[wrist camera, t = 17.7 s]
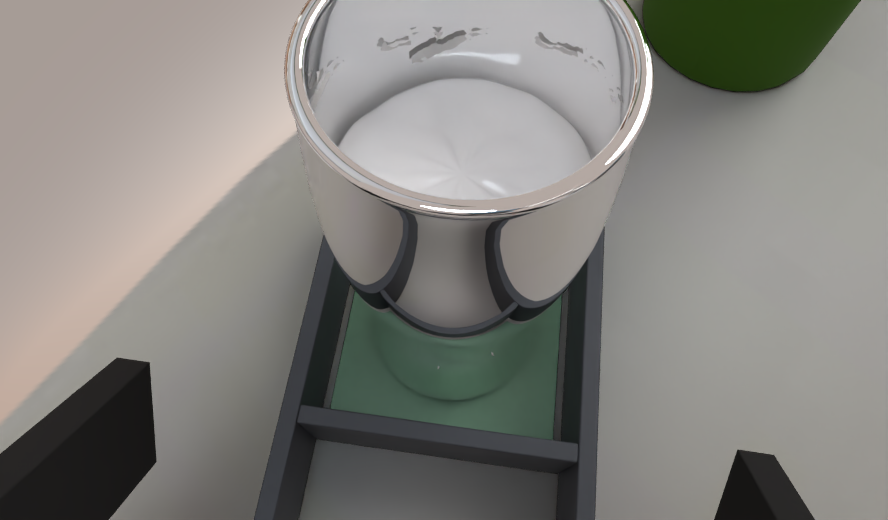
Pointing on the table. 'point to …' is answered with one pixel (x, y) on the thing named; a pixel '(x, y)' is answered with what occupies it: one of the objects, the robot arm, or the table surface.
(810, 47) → the wine bottle
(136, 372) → the robot arm
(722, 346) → the table surface
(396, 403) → the rectangular tray
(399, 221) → the beer glass
